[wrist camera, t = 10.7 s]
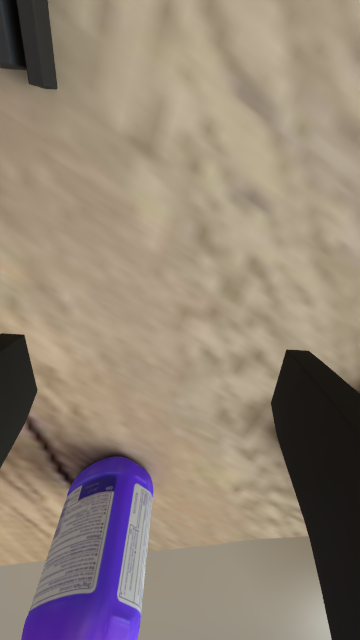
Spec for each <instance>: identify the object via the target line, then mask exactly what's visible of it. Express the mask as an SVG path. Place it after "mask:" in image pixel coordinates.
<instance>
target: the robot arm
mask: <svg viewBox="0 0 360 640" xmlns="http://www.w3.org/2000/svg"><path fill="white" fill-rule="evenodd" d="M36 393H37V387H36V383H35V378H34V374H33V370H32V366H31V361H30V357H29V353H28V349H27V344H26V340H25V336H24V335H19V334H0V468H1V466H2V464H3V462H4V460H5V459H6V457H7V455H8V453H9V451H10V450H11V448H12V446H13V444H14V442H15V440H16V439H17V437H18V435H19V433H20V431H21V429H22V427H23V426H24V424H25V421H26V419H27V416H28V414H29V412H30V409H31V406H32V404H33V401H34V398H35V396H36ZM271 406H272V412H273V417H274V423H275V428H276V433H277V437H278V441H279V444H280V447H281V450H282V453H283V456H284V460H285V463H286V466H287V469H288V472H289V475H290V478H291V481H292V484H293V487H294V490H295V493H296V496H297V499H298V502H299V505H300V509H301V512H302V515H303V518H304V521H305V524H306V528H307V531H308V535H309V538H310V542H311V546H312V551H313V555H314V559H315V564H316V568H317V573H318V577H319V581H320V586H321V590H322V594H323V599H324V604H325V609H326V614H327V619H328V623H329V628H330V633H331V638H332V640H360V394H359V393H358V392H357V391H356V390H355V389H354V388H352V387H351V386H350V385H349V384H348V383H346V382H345V381H344V380H343V379H342V378H341V377H339V376H338V375H337V374H336V373H335V372H334V371H332V370H331V369H330V368H329V367H328V366H327V365H325V364H324V363H323V362H322V361H321V360H319V359H318V358H317V357H316V356H315V355H313V354H312V353H311V352H309V351H301V350H286V353H285V357H284V360H283V363H282V367H281V370H280V374H279V377H278V381H277V384H276V388H275V391H274V395H273V398H272V401H271Z"/></svg>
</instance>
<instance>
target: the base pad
mask: <svg viewBox="0 0 360 640" xmlns="http://www.w3.org/2000/svg"><path fill="white" fill-rule="evenodd" d="M16 1H17V8H18V14H19V21H20V28H21V34H22V41H23V47H24V54H25V61H26V67H27V74H28V80H29V84H31V85H34V86H38V87H41V88H45V89H57V81H56V72H55V63H54V55H53V46H52V37H51V28H50V20H49V11H48V2H47V0H16Z"/></svg>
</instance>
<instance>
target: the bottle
mask: <svg viewBox="0 0 360 640" xmlns="http://www.w3.org/2000/svg"><path fill="white" fill-rule="evenodd" d="M152 498H153V484H152V480H151V477H150V475H149V474H148V472H147V471H146V470H145V469H144V468H142V467H141V466H139V465H138V464H137V463H135V462H134V461H132V460H130V459H127V458H124V457H117V456H116V457H110V458H106V459H103V460H100V461H97V462H95V463H93V464H92V465H90V466H88V467H87V468H85V469H84V470H83V471H82V472H81V473H80V474H79V475H78V476H77V477H76V479H75V480H74V481H73V483H72V485H71V487H70V489H69V491H68V494H67V498H66V501H65V504H64V507H63V510H62V513H61V516H60V520H59V523H58V526H57V529H56V532H55V535H54V538H53V541H52V544H51V547H50V550H49V553H48V557H47V560H46V563H45V566H44V569H43V572H42V575H41V578H40V581H39V584H38V587H37V589H36V593H35V596H34V599H33V602H32V605H31V608H30V611H29V614H28V616H27V618H26V621H25V625H24V628H23V633H22V639H21V640H137V638H138V633H139V627H140V617H141V609H142V597H143V587H144V577H145V567H146V557H147V549H148V539H149V528H150V517H151V507H152Z"/></svg>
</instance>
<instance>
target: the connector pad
mask: <svg viewBox="0 0 360 640" xmlns="http://www.w3.org/2000/svg"><path fill="white" fill-rule="evenodd" d="M0 68H8V69H22V70H27V67H26V61H25V54H24V47H23V41H22V34H21V28H20V21H19V14H18V8H17V1H16V0H0Z"/></svg>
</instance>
